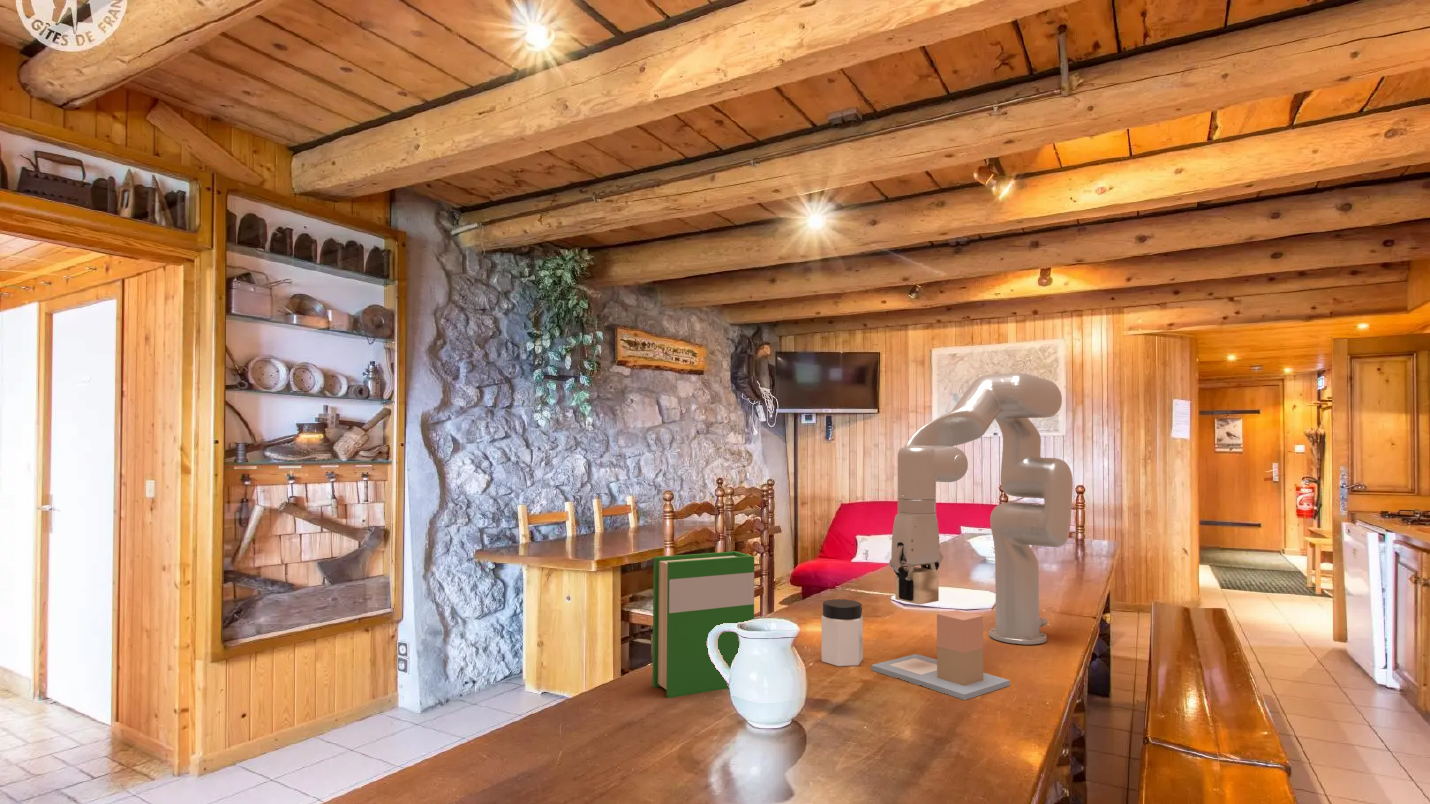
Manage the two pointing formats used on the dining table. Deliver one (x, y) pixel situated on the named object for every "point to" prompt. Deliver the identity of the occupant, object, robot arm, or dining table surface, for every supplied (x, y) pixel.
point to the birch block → (922, 586)
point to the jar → (842, 632)
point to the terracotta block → (960, 631)
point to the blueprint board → (938, 682)
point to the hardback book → (697, 617)
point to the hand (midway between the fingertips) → (917, 596)
